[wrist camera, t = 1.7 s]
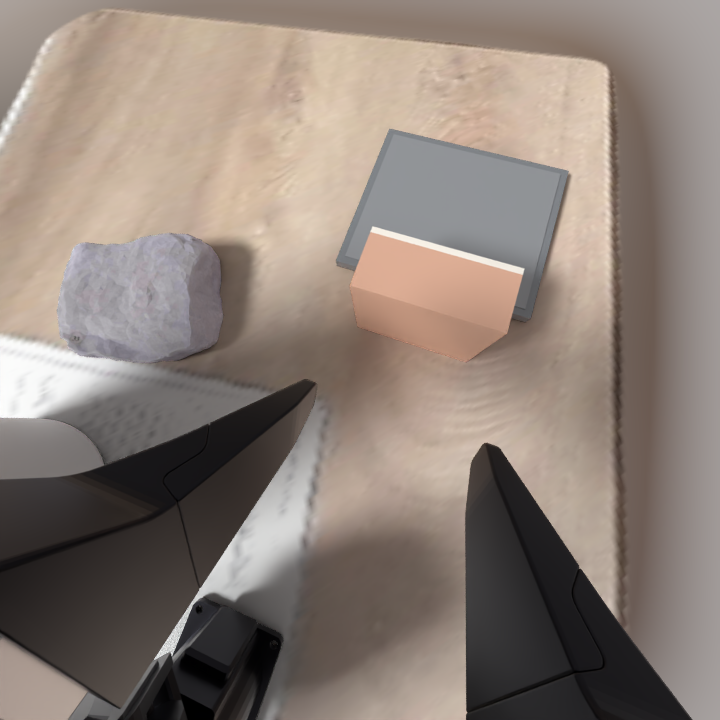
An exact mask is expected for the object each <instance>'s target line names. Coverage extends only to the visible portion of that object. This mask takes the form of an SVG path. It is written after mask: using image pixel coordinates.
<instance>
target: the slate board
mask: <svg viewBox="0 0 720 720" xmlns="http://www.w3.org/2000/svg"><path fill="white" fill-rule="evenodd" d="M568 172H569V171H567V170H563V169H558V168H554V167H550V166H546V165H541V164H537V163H533V162H529V161H524V160H520V159H516V158H512V157H508V156H503V155H499V154H495V153H491V152H486V151H482V150H478V149H474V148H470V147H465V146H461V145H457V144H453V143H448V142H444V141H440V140H436V139H431V138H427V137H423V136H419V135H415V134H410V133H406V132H402V131H398V130H393V129H389V131H388V134H387V136H386V138H385V141H384V143H383V146H382V148H381V151H380V153H379V156H378V158H377V161H376V163H375V166H374V168H373V170H372V173H371V175H370V178H369V180H368V183H367V185H366V188H365V190H364V193H363V195H362V198H361V200H360V203H359V205H358V207H357V210H356V212H355V215H354V217H353V220H352V222H351V225H350V227H349V230H348V232H347V235H346V237H345V239H344V242H343V244H342V247H341V249H340V252H339V254H338V257H337V259H336V263H337V266H340V267H343V268H346V269H350V270H353V271H355V270H356V267H357V265H358V262H359V260H360V257H361V255H362V252H363V249H364V247H365V244H366V242H367V239H368V237H369V234H370V231H371V229H372V226H373V227H377V228H381V229H384V230H388V231H391V232H395V233H399V234H402V235H406V236H409V237H413V238H416V239H420V240H424V241H427V242H431V243H434V244H438V245H442V246H445V247H449V248H452V249H456V250H459V251H463V252H467V253H470V254H474V255H477V256H481V257H484V258H488V259H492V260H495V261H499V262H502V263H506V264H510V265H513V266H517V267H520V268H524V273H523V276H522V280H521V284H520V287H519V291H518V295H517V298H516V302H515V306H514V310H513V313H512V317H511V318H513V319H516V320H519V321H523V322H527V321H528V320H530V319H531V316H532V312H533V308H534V304H535V300H536V296H537V292H538V289H539V285H540V281H541V277H542V273H543V269H544V265H545V261H546V257H547V253H548V250H549V246H550V242H551V238H552V234H553V230H554V226H555V222H556V218H557V214H558V211H559V207H560V203H561V199H562V195H563V191H564V187H565V183H566V179H567V175H568Z"/></svg>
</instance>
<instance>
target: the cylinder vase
mask: <svg viewBox="0 0 720 720" xmlns="http://www.w3.org/2000/svg"><path fill="white" fill-rule="evenodd" d="M103 465H104V462H103V460H102V457H101V455H100V453H99V451H98V449H97V448H96V446H95V445H94V444H93V442H92V441H91V440H90V439H89V438H88V437H87V436H86V435H85V434H84V433H82V432H81V431H80V430H78V429H77V428H75V427H73V426H71V425H69V424H66V423H63V422H60V421H56V420H51V419H31V418H0V479H17V478H42V477H59V476H67V475H72V474H77V473H81V472H85V471H89V470H92V469H95V468H98V467H101V466H103Z"/></svg>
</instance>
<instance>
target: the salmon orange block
mask: <svg viewBox="0 0 720 720" xmlns="http://www.w3.org/2000/svg"><path fill="white" fill-rule="evenodd" d="M523 273H524V268H520V267H517V266H513V265H510V264H506V263H502V262H499V261H495V260H492V259H488V258H484V257H481V256H477V255H474V254H470V253H467V252H463V251H459V250H456V249H452V248H449V247H445V246H442V245H438V244H434V243H431V242H427V241H424V240H420V239H416V238H413V237H409V236H406V235H402V234H399V233H395V232H391V231H388V230H384V229H381V228H377V227H373V226H372V229H371V231H370V234H369V237H368V239H367V242H366V244H365V247H364V249H363V252H362V255H361V257H360V260H359V262H358V265H357V267H356V270H355V273H354V275H353V278H352V280H351V283H350V290H351V295H352V301H353V306H354V311H355V316H356V322H357V327H359V328H362V329H365V330H368V331H371V332H374V333H378V334H381V335H384V336H387V337H390V338H393V339H396V340H399V341H402V342H405V343H408V344H411V345H415V346H418V347H421V348H424V349H427V350H430V351H433V352H436V353H439V354H442V355H445V356H449V357H452V358H455V359H458V360H461V361H464V362H467V361H469V360H470V359H472V358H473V357H474V356H476V355H477V354H479V353H480V352H481V351H483V350H484V349H486V348H487V347H489V346H490V345H491V344H493V343H494V342H496V341H497V340H499V339H500V338H501V337H503V336H504V335H506V334H507V332H508V328H509V324H510V321H511V317H512V313H513V310H514V306H515V302H516V298H517V295H518V291H519V287H520V284H521V280H522V276H523Z"/></svg>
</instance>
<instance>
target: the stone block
mask: <svg viewBox="0 0 720 720" xmlns="http://www.w3.org/2000/svg"><path fill="white" fill-rule="evenodd" d="M220 286H221V268H220V260H219V257H218V256H217V254H216V253H215V252H214V250H213V249H212V247H211V246H209V245H208V244H206V243H203V242H202V240H201V239H197V238H195V237H193V236H191V235H189V234H173V233H166V234H158V235H152V236H147V237H142V238H139V239H136V240H135V241H132V242H129V243H124V244H109V245H102V244H94V243H80V244H77V245H76V246H75V247H74V248H73V251H72V254H71V257H70V260H69V261H68V263H67V266H66V269H65V272H64V279H63V282H62V285H61V289H60V296H59V299H58V301H59V302H58V308H57V314H58V323H59V331H60V338H61V339H63V340H65V341H67V344H68V348H69V349H70V350H72V351H74V352H75V353H77V354H78V355H80V356H85V357H96V358H110V359H113V360H123V361H130V362H141V363H156V362H160V361H171V360H174V361H176V360H180V359H183V358H185V357H187V356H189V355H192V354H195V353H198V352H200V351H202V350H205V349H208V348H210V347H211V346H213V345H214V344H216V343H217V341H218V338H219V332H220V328H221V324H222V321H223V310H222V304H221V303H222V299H221V297H220Z"/></svg>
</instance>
